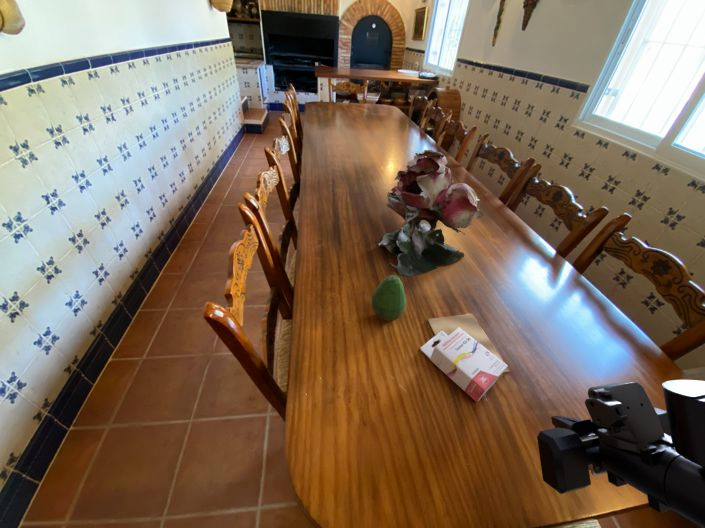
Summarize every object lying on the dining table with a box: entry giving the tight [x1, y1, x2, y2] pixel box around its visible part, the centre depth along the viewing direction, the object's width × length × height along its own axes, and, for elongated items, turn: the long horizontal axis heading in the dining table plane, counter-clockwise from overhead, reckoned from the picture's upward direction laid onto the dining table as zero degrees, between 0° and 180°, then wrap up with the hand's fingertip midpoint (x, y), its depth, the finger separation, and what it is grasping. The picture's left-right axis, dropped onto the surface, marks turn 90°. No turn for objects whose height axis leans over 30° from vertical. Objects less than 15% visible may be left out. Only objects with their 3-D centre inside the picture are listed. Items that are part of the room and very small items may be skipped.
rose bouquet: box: [377, 149, 484, 277], centre depth 87 cm, size 26×29×30 cm
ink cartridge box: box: [420, 327, 509, 403], centre depth 61 cm, size 9×5×15 cm
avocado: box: [371, 274, 407, 322], centre depth 69 cm, size 8×8×12 cm
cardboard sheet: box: [426, 313, 510, 374], centre depth 67 cm, size 16×12×1 cm
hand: (553, 419), depth 45 cm, fingers closed
